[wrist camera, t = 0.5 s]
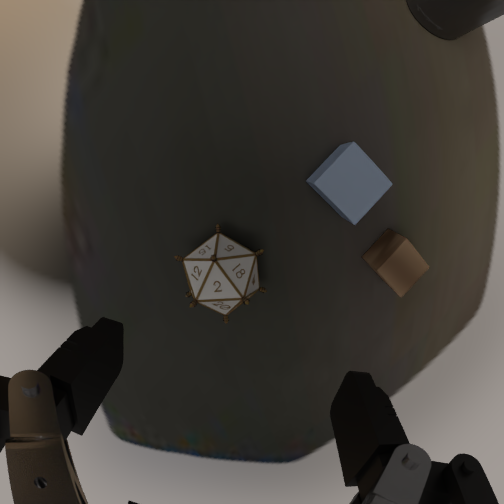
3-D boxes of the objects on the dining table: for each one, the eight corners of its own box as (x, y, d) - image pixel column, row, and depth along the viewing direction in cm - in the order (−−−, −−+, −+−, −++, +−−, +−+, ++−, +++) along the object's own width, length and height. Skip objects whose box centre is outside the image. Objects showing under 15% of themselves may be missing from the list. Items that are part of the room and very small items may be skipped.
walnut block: (387, 228, 33) (406, 238, 28) (409, 254, 33) (429, 267, 29) (361, 256, 34) (376, 270, 29) (384, 281, 34) (400, 297, 30)
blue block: (340, 144, 31) (353, 141, 26) (374, 181, 31) (392, 184, 27) (305, 181, 32) (313, 183, 27) (341, 216, 33) (354, 225, 28)
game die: (245, 254, 38) (298, 301, 31) (189, 297, 36) (230, 355, 29) (214, 197, 32) (271, 239, 24) (147, 247, 30) (184, 307, 23)
